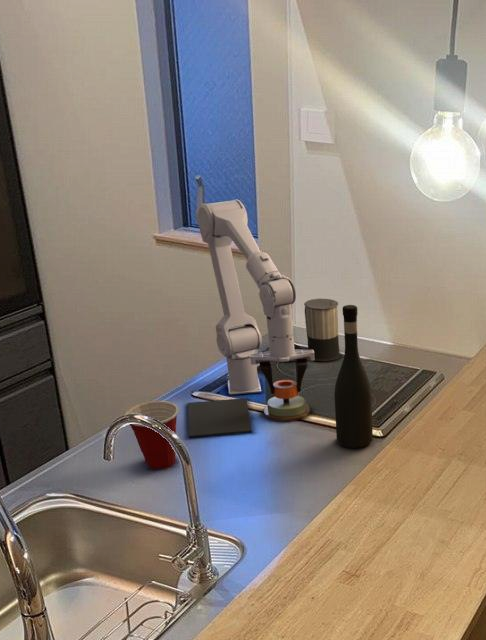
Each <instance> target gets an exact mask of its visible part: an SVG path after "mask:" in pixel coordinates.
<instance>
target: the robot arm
mask: <svg viewBox="0 0 486 640" xmlns="http://www.w3.org/2000/svg"><path fill="white" fill-rule="evenodd" d="M196 220H197V223H198V227H199V228H198V229H199V232H200V236H201V239H202V242H203V243H206V244H207V246H208V250H209V254H210V259H211V264H212V268H213V273H214V276H215V280H216V286H217V290H218V294H219V299H220V304H221V308H222V312H223V316H222V317H221V319H219V321H218V322H217V324H216V325H215V333H216V345H217V348H218V351H219V352H220V353H221V354H222V355H223V356H224V357H225V358H226V366H227V374H228V380H227V388H228V395H243V394H245V395H246V394H257V393H262V387H261V382H260V378H259V376H258V366H257V364H259V367H260V371H261V373H263V375H264V377H265V379H266V382H267V383H268V386H269V389H270V394H271V395H274V387H273V383H274V382H273V369H272V364H271V363H285V362H294V364H295V375H296V377H295V378H296V380H295V382H297V390H298V393H301V390H302V383H303V378H304V376H305V373H306V371H307V368H308V361H310V362H311V361H312V362H313V361H315V357H314V351H313V350H308V349H304V350H297V349H294V344H295V337H294V323H293V310H292V305H293V304H294V303H295V302H296V299H297V291H296V288H295V285H294V283H293V281H292V280H291V279H290V277H287V276H285V274H283V273H282V274H281V273H280V271H279V270H278V268H277V266H276V265H275V263H274V262H273V260H272V258H271V257H270V255H269V254H268V253H266V252H264V251H261V250H260V248H259V246H258V244H257V242H256V240H255V238H254V236H253V234H252V232H251V230H250V228H249V226H248V221H249V220H248V212H247V210H246V207H245V205H244V204H243V202H242V201H241V200H239V199H236V198H235V199H233V200H226V201H219V202H213V203H212V202H211V203H201V204H200V205H199V207H198V210H197V214H196ZM232 243H233V244H234V245H235V246H236V247H237V248H238V250H239V251H240V253H241V254H242V255H243V257H244V258H245V260H246V263H245V268H246V270H247V272H248V273H249V275H250V276H251V278H252V280H253V281H254V283H255V284H256V286H257V288H258V289H259V292H258V297H259V301H260V303H261V305H262V311H263V314H264V315H265V317H266V327H267V339H268V349H269V350H267V351H262V352H259V350H260V349H261V346H262V342H263V339H262V338H263V337H262V334H261V331H260V330H259V327H258V325H257V320H256V319H255V318H254V317H252V316H250V315H249V314H247V313H246V311H245V307H244V303H243V298H242V294H241V289H240V283H239V279H238V275H237V271H236V265H235V261H234V255H233V252H232V247H231V245H232Z"/></svg>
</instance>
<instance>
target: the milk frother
mask: <svg viewBox="0 0 486 640" xmlns="http://www.w3.org/2000/svg"><path fill="white" fill-rule="evenodd" d="M303 305H304V318H305V330H306V338H307V350H313V351H314V357H315V360H314V361H315V362H332V361H335V360H337V359H339V358H340V357H341V353H340V343H339V342H340V341H339V340H340V339H339V316H338V315H339V311H338V306H339V302H338V301H337V300H334V299H331V298H312V299H308V300H306V301H304V304H303ZM294 349H297V350H305V349H304V348H303V347H301V346H300V345H298V344H296V343H294Z"/></svg>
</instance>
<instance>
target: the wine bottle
mask: <svg viewBox="0 0 486 640" xmlns="http://www.w3.org/2000/svg"><path fill="white" fill-rule="evenodd" d="M358 314H359V313H358V307H357V306H356V305H354V304H345V305H343V306H342V316H343V329H344V330H343V331H344V332H343V333H344V356H343V359H342V363H341V366H340V369H339V371H338V374H337V377H336V381H335V386H334V393H333V394H334V414H335V415H334V416H335V432H336V433H335V434H336V435H335V436H336V441H337V442H338V444H339V445H341V446H343V447H346V448H351V449H352V448H353V449H354V448H355V449H356V448H362V447H365V446H368V445H369V444H370V443H371V442H372V441H373V436H374V434H373V433H374V432H373V431H374V430H373V429H374V428H373V396H372V395H373V392H372V386H371V382H370V379H369V376H368V374H367V371H366V369H365V367H364V365H363V362H362V359H361V357H360V352H359V346H358Z"/></svg>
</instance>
